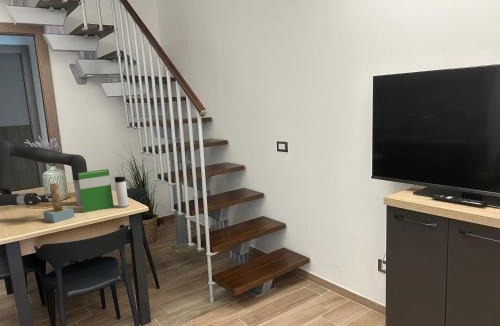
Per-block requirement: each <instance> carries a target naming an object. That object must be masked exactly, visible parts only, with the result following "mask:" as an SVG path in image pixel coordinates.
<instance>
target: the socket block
mask: <svg viewBox="0 0 500 326" xmlns="http://www.w3.org/2000/svg"><path fill="white" fill-rule="evenodd" d="M72 218H75V211H74V208H72V207H68V206H64V205H63V206H62V211H59V212H54V208H51V209H49V210H45V211H43V219H44V221H47V222H49V221H50V223H52V222H53V224H56V223H59V222H63V221H65V220H69V219H72Z"/></svg>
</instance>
